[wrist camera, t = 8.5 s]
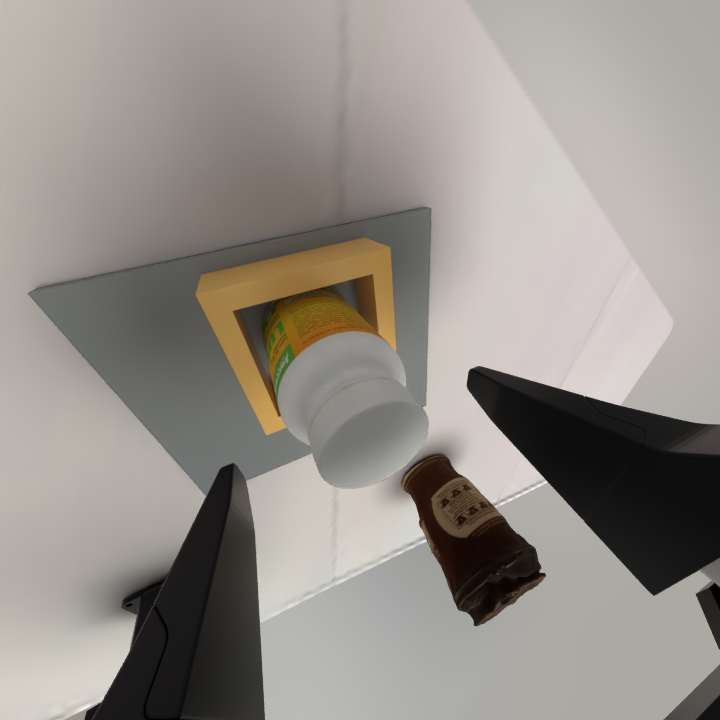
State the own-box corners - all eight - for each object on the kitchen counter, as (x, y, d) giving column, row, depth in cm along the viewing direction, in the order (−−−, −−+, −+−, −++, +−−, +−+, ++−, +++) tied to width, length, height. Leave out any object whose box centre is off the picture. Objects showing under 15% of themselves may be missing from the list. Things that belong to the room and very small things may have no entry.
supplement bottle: (252, 287, 14) (281, 407, 6) (350, 278, 16) (462, 363, 8) (268, 372, 17) (302, 524, 9) (350, 356, 19) (433, 473, 11)
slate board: (422, 401, 25) (425, 405, 25) (207, 489, 21) (207, 496, 20) (425, 207, 16) (431, 208, 16) (35, 288, 11) (27, 293, 11)
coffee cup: (400, 456, 29) (494, 604, 19) (462, 437, 32) (571, 556, 22) (388, 504, 33) (459, 644, 23) (443, 484, 36) (527, 600, 26)
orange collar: (378, 361, 20) (398, 384, 18) (261, 402, 18) (266, 435, 15) (365, 237, 15) (390, 247, 13) (201, 274, 13) (195, 294, 11)
